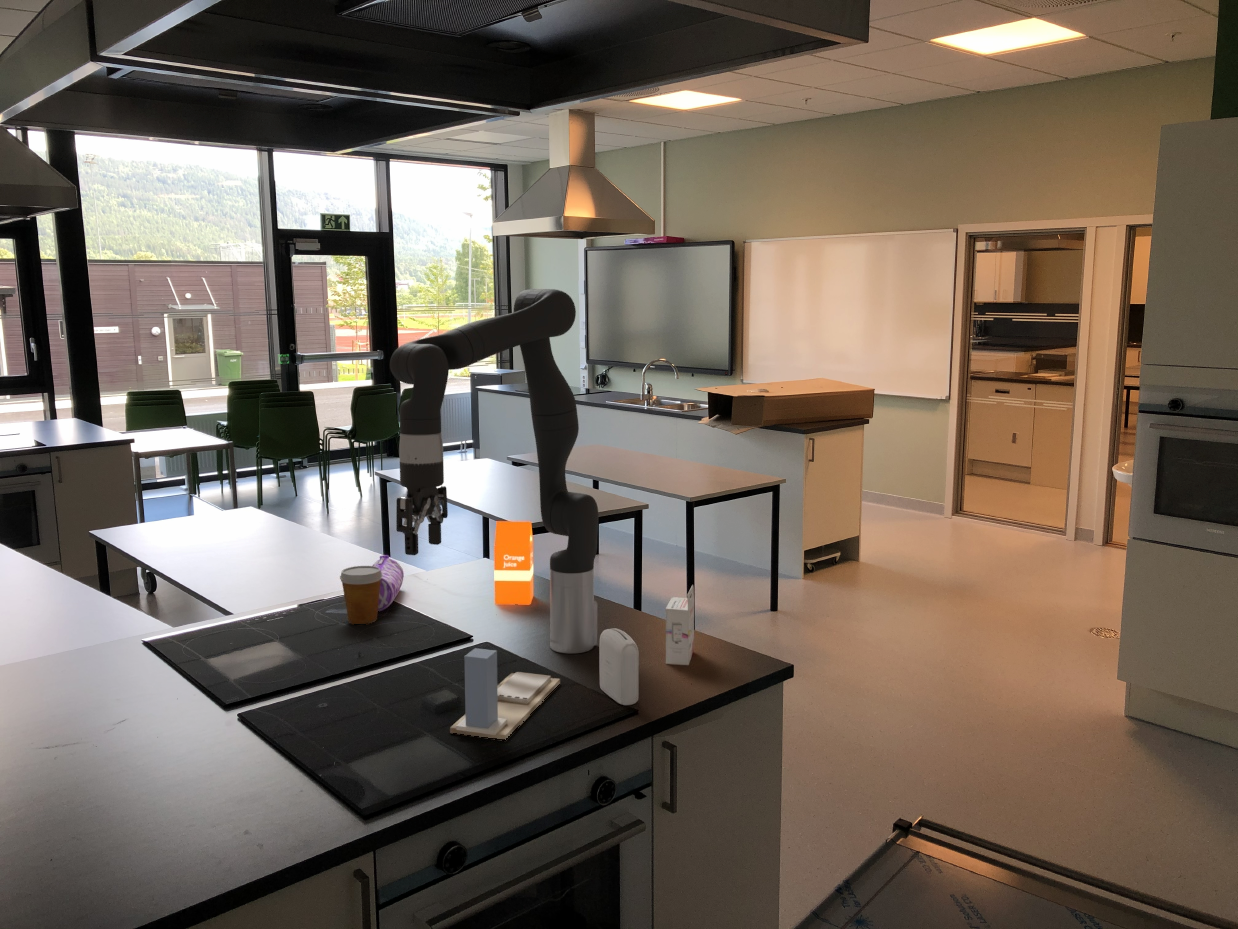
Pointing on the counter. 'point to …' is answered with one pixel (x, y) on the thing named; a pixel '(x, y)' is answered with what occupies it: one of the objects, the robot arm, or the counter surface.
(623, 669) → the photo printer
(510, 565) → the orange juice
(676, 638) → the ink cartridge box
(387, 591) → the pencil case
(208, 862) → the counter surface
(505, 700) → the perforated strip board
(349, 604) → the disposable coffee cup
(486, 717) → the panel
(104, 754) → the counter surface
